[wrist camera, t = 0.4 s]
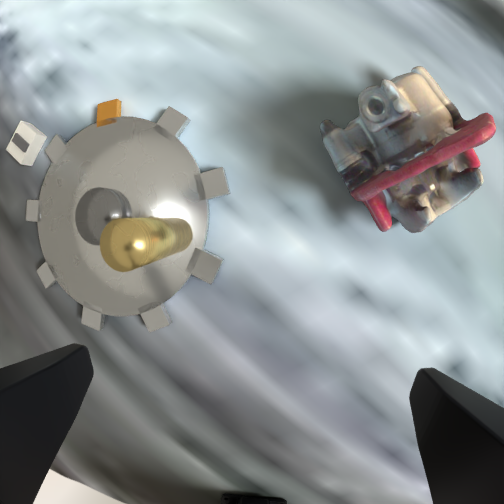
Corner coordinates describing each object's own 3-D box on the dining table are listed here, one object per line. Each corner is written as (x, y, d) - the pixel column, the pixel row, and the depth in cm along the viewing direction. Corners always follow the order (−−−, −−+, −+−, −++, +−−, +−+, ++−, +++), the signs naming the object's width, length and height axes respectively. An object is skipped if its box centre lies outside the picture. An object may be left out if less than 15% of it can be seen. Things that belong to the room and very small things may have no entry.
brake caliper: (396, 293, 19) (399, 175, 9) (315, 185, 25) (262, 63, 16) (506, 207, 18) (547, 77, 8) (417, 124, 24) (404, 3, 14)
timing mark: (47, 136, 22) (34, 132, 20) (31, 166, 23) (18, 164, 21) (31, 123, 22) (18, 119, 20) (17, 151, 23) (4, 149, 21)
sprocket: (216, 350, 23) (185, 416, 14) (32, 309, 24) (-34, 336, 15) (240, 100, 21) (220, 38, 12) (45, 110, 22) (-21, 85, 13)
